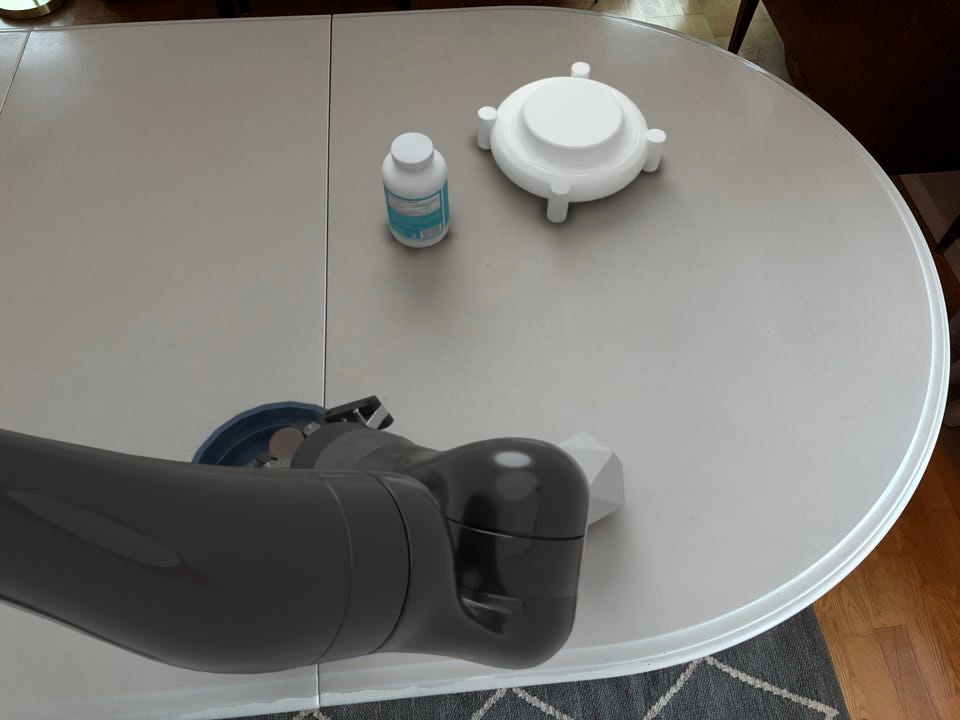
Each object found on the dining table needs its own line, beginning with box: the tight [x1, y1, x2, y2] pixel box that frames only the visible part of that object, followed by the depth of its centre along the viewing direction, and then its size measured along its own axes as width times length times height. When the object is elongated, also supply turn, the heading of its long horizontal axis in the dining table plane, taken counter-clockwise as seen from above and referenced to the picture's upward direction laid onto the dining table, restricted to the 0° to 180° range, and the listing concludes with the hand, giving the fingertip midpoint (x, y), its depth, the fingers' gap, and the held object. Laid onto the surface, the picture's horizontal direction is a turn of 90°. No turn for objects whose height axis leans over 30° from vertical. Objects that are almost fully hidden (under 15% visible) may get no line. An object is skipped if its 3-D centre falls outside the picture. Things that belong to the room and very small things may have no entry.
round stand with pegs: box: [477, 61, 667, 224], centre depth 102 cm, size 24×24×7 cm
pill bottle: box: [381, 132, 450, 249], centre depth 92 cm, size 8×7×14 cm
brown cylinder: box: [269, 428, 305, 460], centre depth 66 cm, size 3×3×10 cm
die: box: [556, 430, 626, 526], centre depth 77 cm, size 8×9×10 cm
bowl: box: [190, 400, 347, 468], centre depth 78 cm, size 18×19×5 cm
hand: (280, 449), depth 66 cm, fingers closed on brown cylinder, 3 cm apart
